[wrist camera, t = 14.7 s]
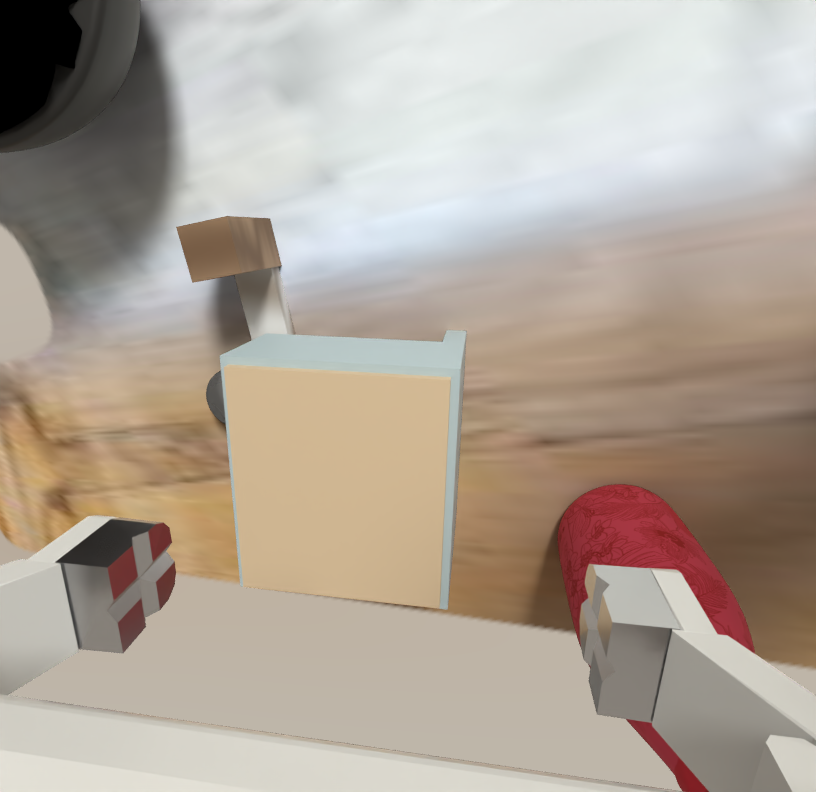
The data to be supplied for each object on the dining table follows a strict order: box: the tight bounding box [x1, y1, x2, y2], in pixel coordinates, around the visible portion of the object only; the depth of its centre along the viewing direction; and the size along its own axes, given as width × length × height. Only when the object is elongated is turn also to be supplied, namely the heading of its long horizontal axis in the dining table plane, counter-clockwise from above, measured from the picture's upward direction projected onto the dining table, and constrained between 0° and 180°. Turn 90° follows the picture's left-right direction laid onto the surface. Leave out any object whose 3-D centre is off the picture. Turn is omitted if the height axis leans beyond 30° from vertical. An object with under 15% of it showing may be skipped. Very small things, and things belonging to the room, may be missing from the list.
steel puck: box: [206, 371, 226, 424], centre depth 43 cm, size 5×5×2 cm
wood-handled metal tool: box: [176, 216, 295, 340], centre depth 39 cm, size 18×4×7 cm, turn 11°
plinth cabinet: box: [220, 330, 467, 610], centre depth 37 cm, size 16×14×12 cm
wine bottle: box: [558, 484, 755, 792], centre depth 29 cm, size 10×10×30 cm
